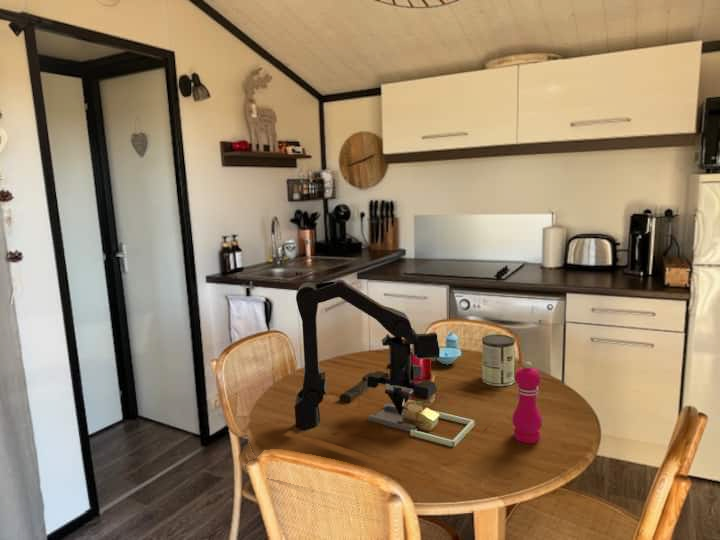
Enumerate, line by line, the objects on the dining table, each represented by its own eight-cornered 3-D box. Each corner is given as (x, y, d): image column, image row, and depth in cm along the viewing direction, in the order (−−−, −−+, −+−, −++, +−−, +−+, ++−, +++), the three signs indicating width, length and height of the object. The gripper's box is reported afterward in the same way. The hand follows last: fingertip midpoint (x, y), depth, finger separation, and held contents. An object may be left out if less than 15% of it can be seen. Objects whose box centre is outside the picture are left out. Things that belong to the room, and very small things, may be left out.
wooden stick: (350, 408, 152) (349, 393, 152) (339, 405, 154) (338, 390, 154) (381, 386, 168) (381, 372, 167) (371, 383, 170) (370, 370, 170)
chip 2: (429, 433, 134) (433, 420, 133) (415, 425, 136) (419, 413, 135) (435, 427, 137) (439, 414, 136) (422, 419, 139) (426, 407, 138)
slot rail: (413, 436, 133) (413, 428, 133) (368, 424, 141) (367, 416, 141) (430, 421, 141) (430, 413, 141) (386, 410, 149) (386, 402, 149)
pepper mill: (538, 447, 126) (539, 369, 123) (508, 440, 130) (509, 364, 126) (544, 434, 132) (546, 359, 129) (516, 428, 136) (517, 355, 132)
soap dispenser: (457, 370, 178) (457, 345, 177) (428, 367, 182) (427, 343, 181) (467, 354, 195) (467, 331, 193) (440, 351, 199) (440, 329, 197)
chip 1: (416, 426, 136) (415, 412, 135) (402, 423, 138) (402, 409, 138) (422, 420, 139) (422, 406, 139) (409, 417, 142) (409, 403, 141)
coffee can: (487, 372, 175) (487, 332, 173) (518, 377, 170) (518, 336, 167) (477, 383, 167) (477, 341, 164) (509, 388, 161) (509, 345, 159)
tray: (454, 451, 125) (453, 441, 125) (410, 439, 132) (410, 430, 132) (474, 429, 136) (474, 420, 136) (433, 419, 143) (433, 410, 142)
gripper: (444, 356, 139) (445, 410, 142) (385, 345, 150) (387, 396, 152) (426, 369, 130) (427, 426, 133) (364, 357, 141) (366, 411, 143)
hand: (401, 414), depth 141 cm, fingers closed
